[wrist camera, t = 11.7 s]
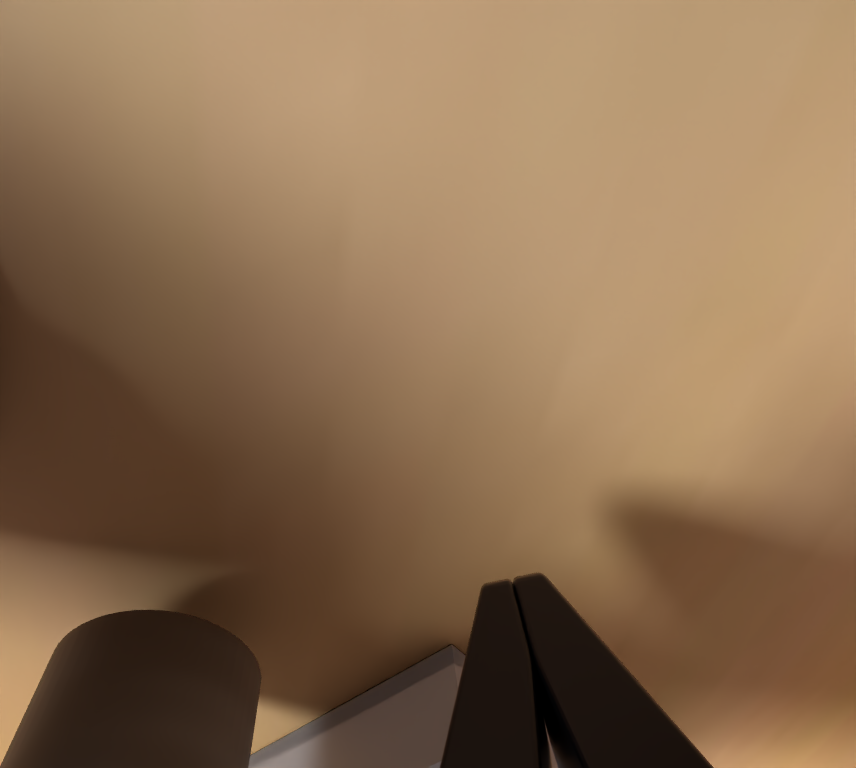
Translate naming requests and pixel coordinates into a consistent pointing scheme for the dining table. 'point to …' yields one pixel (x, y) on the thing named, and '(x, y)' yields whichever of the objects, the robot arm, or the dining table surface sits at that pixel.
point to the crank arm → (142, 697)
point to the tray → (380, 724)
